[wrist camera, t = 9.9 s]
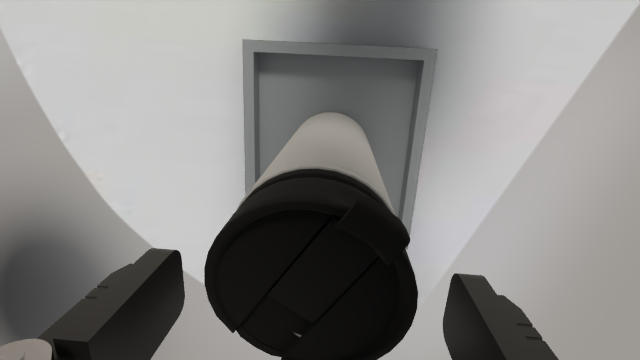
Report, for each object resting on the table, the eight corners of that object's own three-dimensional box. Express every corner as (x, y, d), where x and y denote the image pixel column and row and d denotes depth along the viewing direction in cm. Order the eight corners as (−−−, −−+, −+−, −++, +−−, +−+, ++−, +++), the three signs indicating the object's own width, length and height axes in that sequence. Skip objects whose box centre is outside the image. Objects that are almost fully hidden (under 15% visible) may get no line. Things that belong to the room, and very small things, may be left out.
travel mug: (386, 137, 27) (485, 288, 8) (337, 197, 29) (328, 431, 10) (325, 91, 26) (280, 140, 8) (279, 155, 28) (151, 325, 9)
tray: (250, 41, 26) (242, 39, 24) (429, 50, 26) (437, 48, 24) (252, 225, 31) (246, 236, 29) (403, 237, 31) (407, 249, 29)
